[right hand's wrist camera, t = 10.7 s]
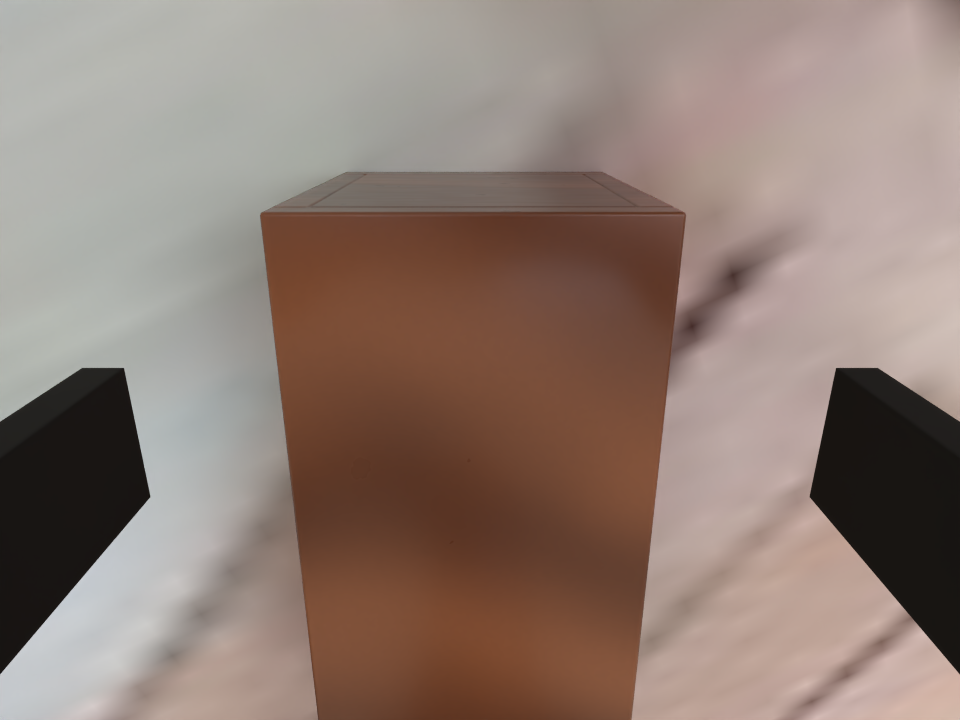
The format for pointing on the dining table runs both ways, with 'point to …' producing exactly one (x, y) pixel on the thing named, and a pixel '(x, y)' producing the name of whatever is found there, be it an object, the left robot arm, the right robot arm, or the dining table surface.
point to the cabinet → (473, 435)
